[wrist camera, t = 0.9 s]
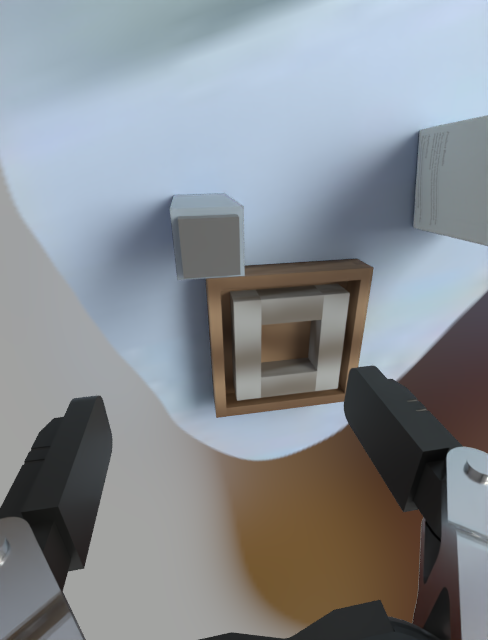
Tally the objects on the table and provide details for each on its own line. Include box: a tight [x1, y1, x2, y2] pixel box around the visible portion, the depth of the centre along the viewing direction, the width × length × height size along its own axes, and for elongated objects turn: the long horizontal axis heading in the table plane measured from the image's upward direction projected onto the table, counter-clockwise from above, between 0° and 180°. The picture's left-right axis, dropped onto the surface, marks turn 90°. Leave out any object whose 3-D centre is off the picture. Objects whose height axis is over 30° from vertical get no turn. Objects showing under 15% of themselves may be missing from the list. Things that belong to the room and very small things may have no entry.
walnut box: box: [206, 259, 373, 418], centre depth 31 cm, size 14×14×3 cm
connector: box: [170, 193, 245, 280], centre depth 22 cm, size 4×4×10 cm
